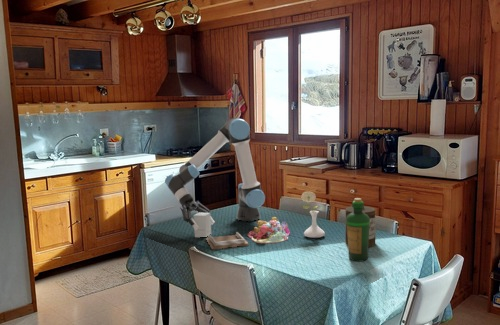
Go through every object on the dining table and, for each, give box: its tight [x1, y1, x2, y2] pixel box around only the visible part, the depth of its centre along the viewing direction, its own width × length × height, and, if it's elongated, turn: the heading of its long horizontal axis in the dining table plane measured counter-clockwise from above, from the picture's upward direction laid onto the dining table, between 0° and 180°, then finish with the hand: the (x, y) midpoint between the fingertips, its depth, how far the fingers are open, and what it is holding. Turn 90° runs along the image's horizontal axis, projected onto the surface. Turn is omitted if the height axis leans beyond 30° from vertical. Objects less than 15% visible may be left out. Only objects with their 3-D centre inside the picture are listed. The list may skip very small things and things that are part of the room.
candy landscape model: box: [247, 216, 291, 244], centre depth 257 cm, size 25×24×9 cm
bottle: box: [345, 197, 370, 262], centre depth 215 cm, size 11×11×28 cm
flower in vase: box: [300, 190, 326, 239], centre depth 253 cm, size 13×11×25 cm
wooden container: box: [344, 202, 376, 248], centre depth 237 cm, size 15×15×22 cm
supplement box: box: [192, 212, 212, 238], centre depth 262 cm, size 7×7×13 cm
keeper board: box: [205, 231, 250, 251], centre depth 248 cm, size 19×18×3 cm
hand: (205, 226), depth 261 cm, fingers open, 13 cm apart
